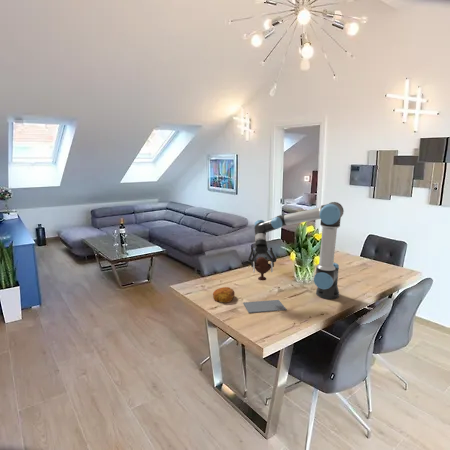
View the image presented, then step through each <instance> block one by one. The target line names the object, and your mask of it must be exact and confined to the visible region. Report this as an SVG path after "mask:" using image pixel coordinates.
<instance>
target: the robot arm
mask: <svg viewBox="0 0 450 450" xmlns="http://www.w3.org/2000/svg"><path fill="white" fill-rule="evenodd" d="M344 212H345V211H344V207H343V205H342V204H341V203H339V202H337V201H331V202H329V203H326V204H322V205H321V206H320V207H315V208H310V209H305V210H302V211H301V210H300V211H297V212H291V213H287V214H279V215H277V216H275V217H273V218H270V219H268V220H266V221H265V220H263V219H258V220H255V222H254V227H253V229H254V238H255V239H254V241H255V242H254V244H255V247H252V246H251V248H250V254H249V257H248V260H247V262H248V263H250V267H251V268H252V270H253V272H252V273H255V271H256V269H255V266H254V264H255V261H256V259H257V257H258V255H265V256H266V257H267V260H268V261H270V263H269V264H270V265H271V269H270V273H273V271H274V267H275V263H276V262H277V257H276V256H275V253H274V252H273V247H268V242H267V241H268V240H267V233H269V232H273V231H275V230H278V229H281V228H282V227H285V226H291V225H295V224H301V223H306V222H311V221H317V220H320V226H321V227H322V231H321V239H320V250H319V252H320V253H319V262H318V264H317V265H316V268H315V274H314V277H313V283H314V284H315V286H316V287H317V288H316V290H315V294H316V295H317V296H318V297H319V298H321V299H325V300H336V299H339V297H340V291H339V288H338V282H339V281H338V279H339V269H340V266H339V264H338V263H336V262H334V261H335V251H336V242H337V241H336V240H337V231H338V229H339V228H340V227H341V220H342V217H343V215H344ZM254 252H255V254H254ZM253 254H254V255H253ZM252 256H253V257H252Z"/></svg>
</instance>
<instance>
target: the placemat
mask: <svg viewBox="0 0 450 450" xmlns="http://www.w3.org/2000/svg"><path fill="white" fill-rule="evenodd" d="M242 304H243V306H244V307H245V310H246V311H247V312H248V314H254V313H255V314H256V313H266V312H267V313H269V312H277V311H278V312H280V311H287V308H286V306H285V305H284V303H282V301H281V300H279V299H271V300H269V299H268V300H257V301H246V302H245V301H244V302H242Z"/></svg>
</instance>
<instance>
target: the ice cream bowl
mask: <svg viewBox="0 0 450 450" xmlns="http://www.w3.org/2000/svg"><path fill="white" fill-rule="evenodd" d="M255 261H256V263H254V266H255V271H256V272H257V273H259V274H260V276H258V278H257V279H258V280H259V281H263V282H264V281H266V280H267V277H265V274H266V273H268V272H269V271H271V264H270V263H269V260H268V259H266V258H265V257H263V256H260V257H258V258H256V259H255Z"/></svg>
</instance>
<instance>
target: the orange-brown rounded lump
mask: <svg viewBox="0 0 450 450" xmlns="http://www.w3.org/2000/svg"><path fill="white" fill-rule="evenodd" d="M235 295H236V294H235V290H234V289H233V288H231V287H229V286H223V287H219V288H216V289H215V290H214V291H213V293H212V297H213V300H214V301H216V302H218V303H219V302H220V303H231V301H232V300H233V299H234V297H235Z"/></svg>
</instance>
